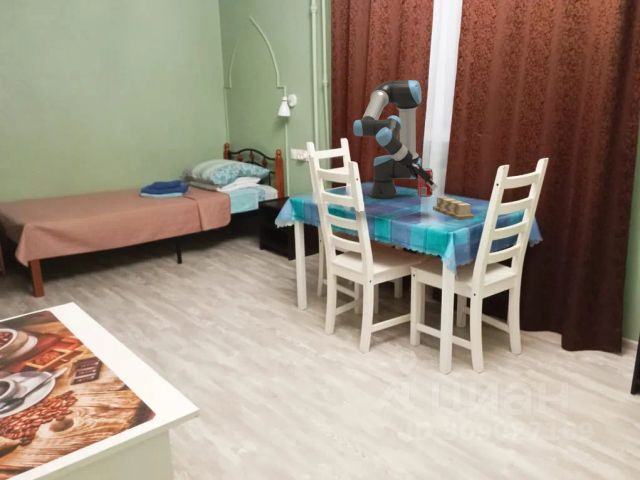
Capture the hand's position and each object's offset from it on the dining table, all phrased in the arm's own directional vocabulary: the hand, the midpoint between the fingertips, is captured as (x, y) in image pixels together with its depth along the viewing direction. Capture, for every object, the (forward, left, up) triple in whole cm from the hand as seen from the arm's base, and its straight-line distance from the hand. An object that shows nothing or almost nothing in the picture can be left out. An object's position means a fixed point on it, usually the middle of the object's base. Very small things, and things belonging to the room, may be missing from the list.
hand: (431, 187), depth 248 cm
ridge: (+3, +11, -13) cm, 17 cm away
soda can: (0, -3, -4) cm, 6 cm away
